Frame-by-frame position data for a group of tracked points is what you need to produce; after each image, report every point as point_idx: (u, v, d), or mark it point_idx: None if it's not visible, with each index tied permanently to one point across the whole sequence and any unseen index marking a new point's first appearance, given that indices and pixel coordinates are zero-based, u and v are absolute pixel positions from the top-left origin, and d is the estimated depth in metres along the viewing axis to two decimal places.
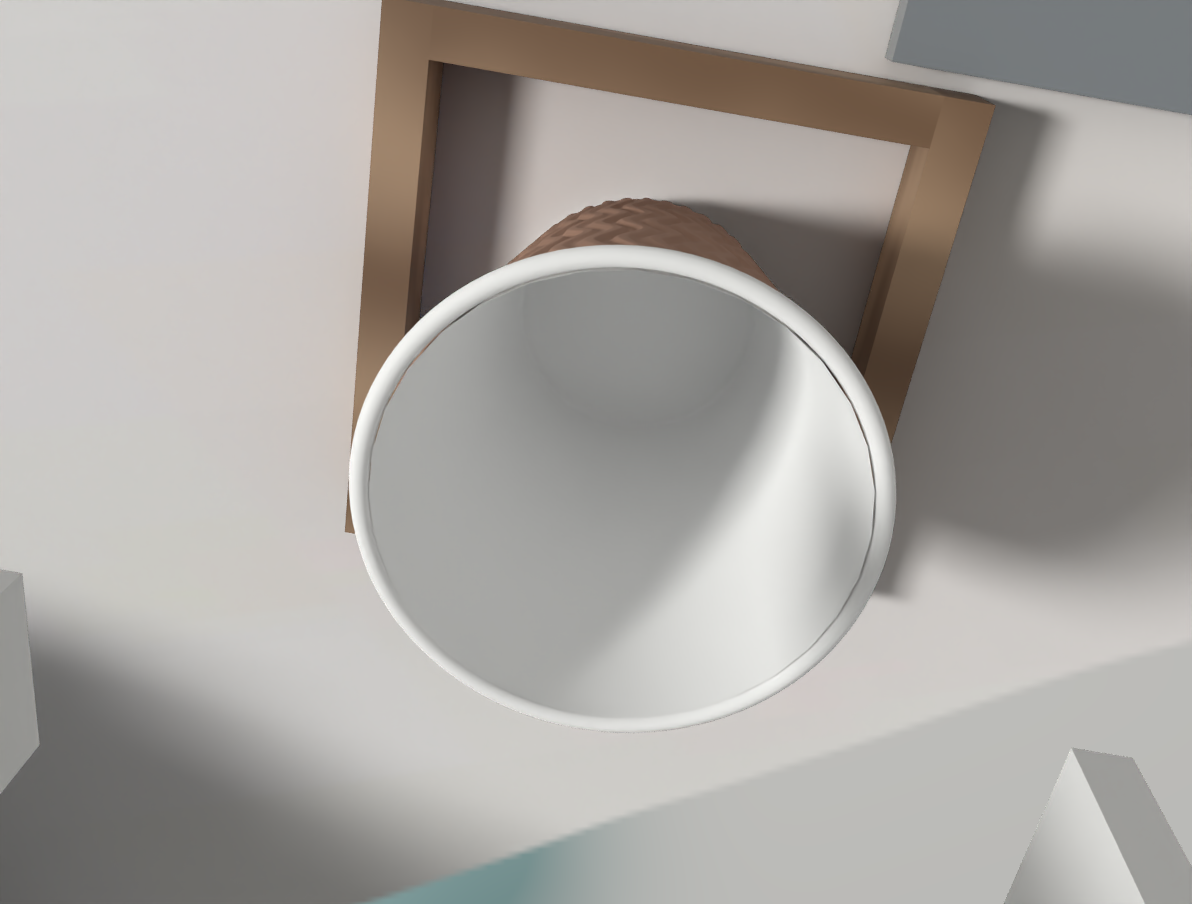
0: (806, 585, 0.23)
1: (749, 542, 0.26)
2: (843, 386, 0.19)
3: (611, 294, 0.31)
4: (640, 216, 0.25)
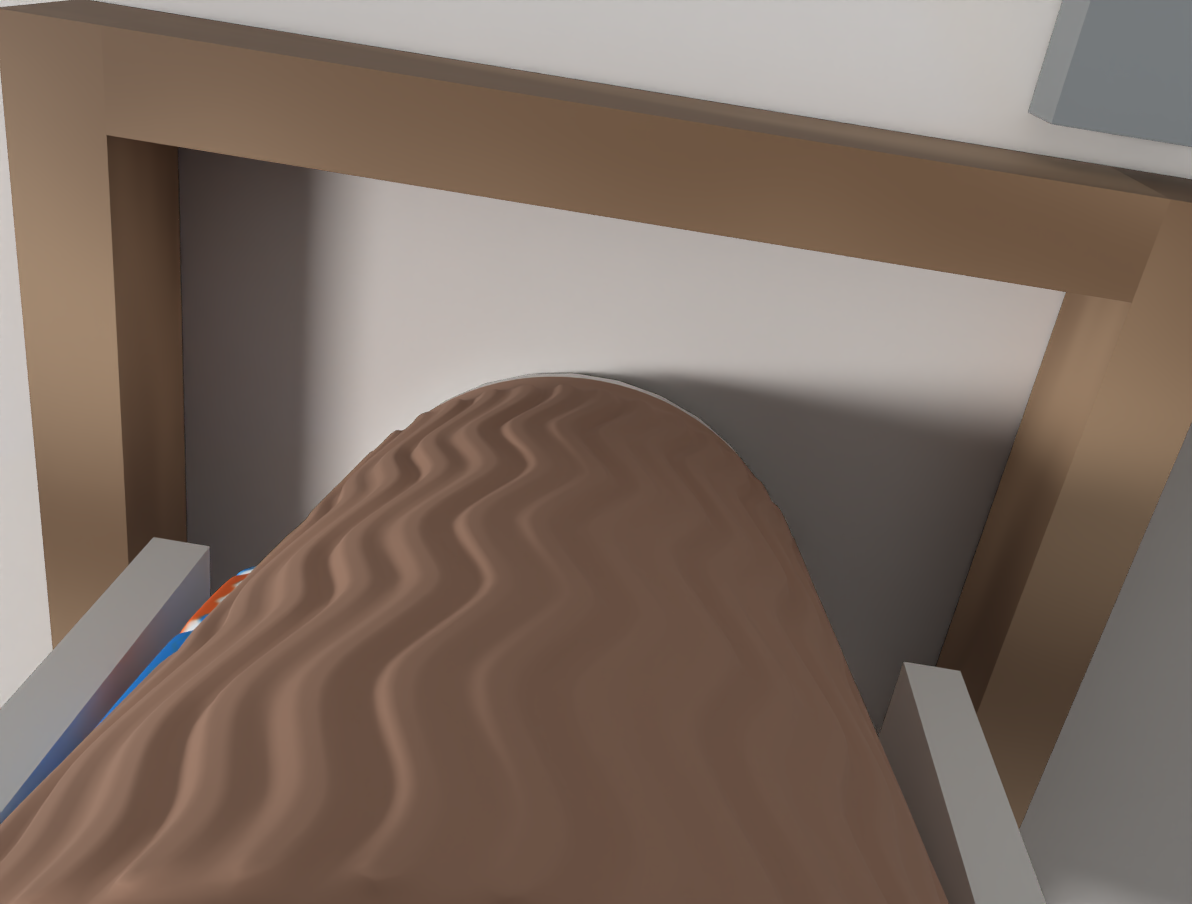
0: None
1: None
2: None
3: None
4: (517, 493, 0.11)
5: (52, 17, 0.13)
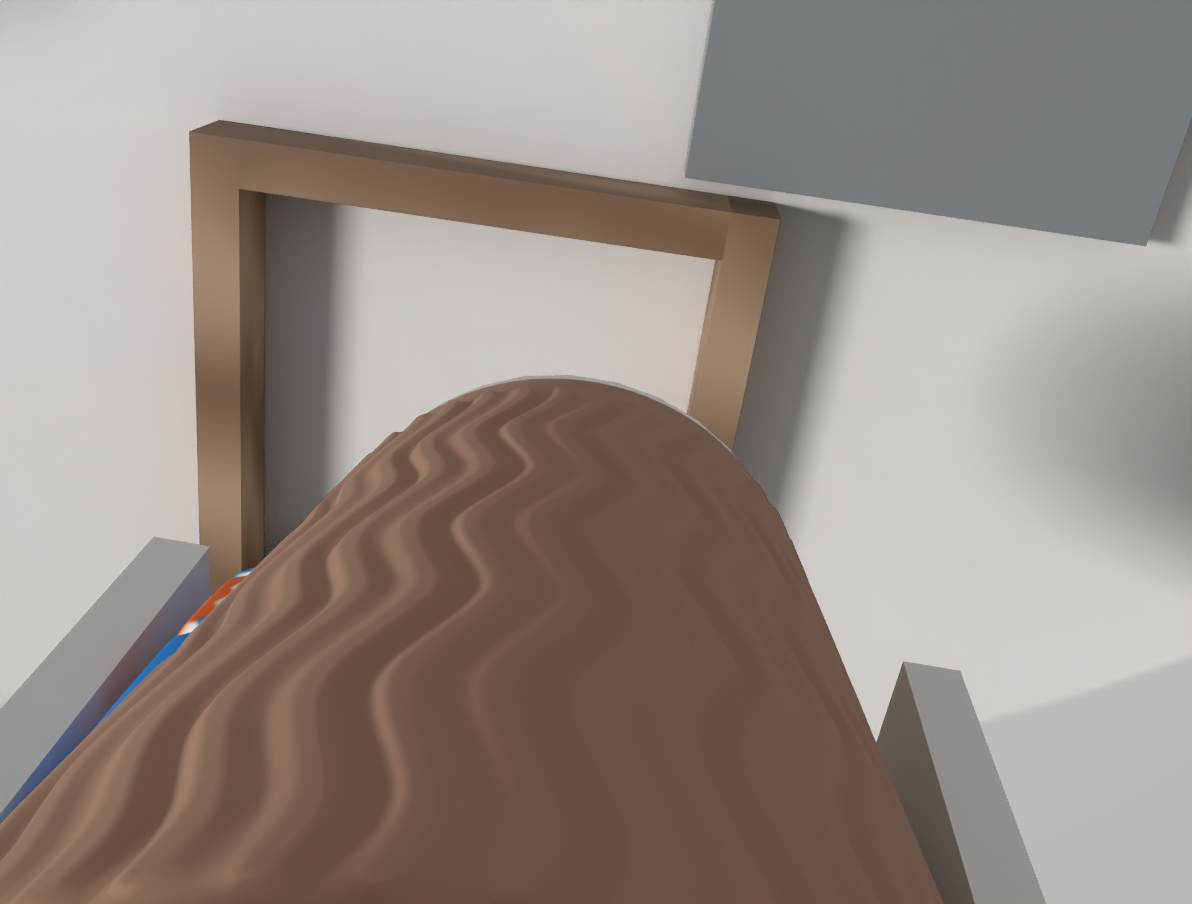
0: None
1: None
2: None
3: None
4: (514, 496, 0.11)
5: (215, 135, 0.27)
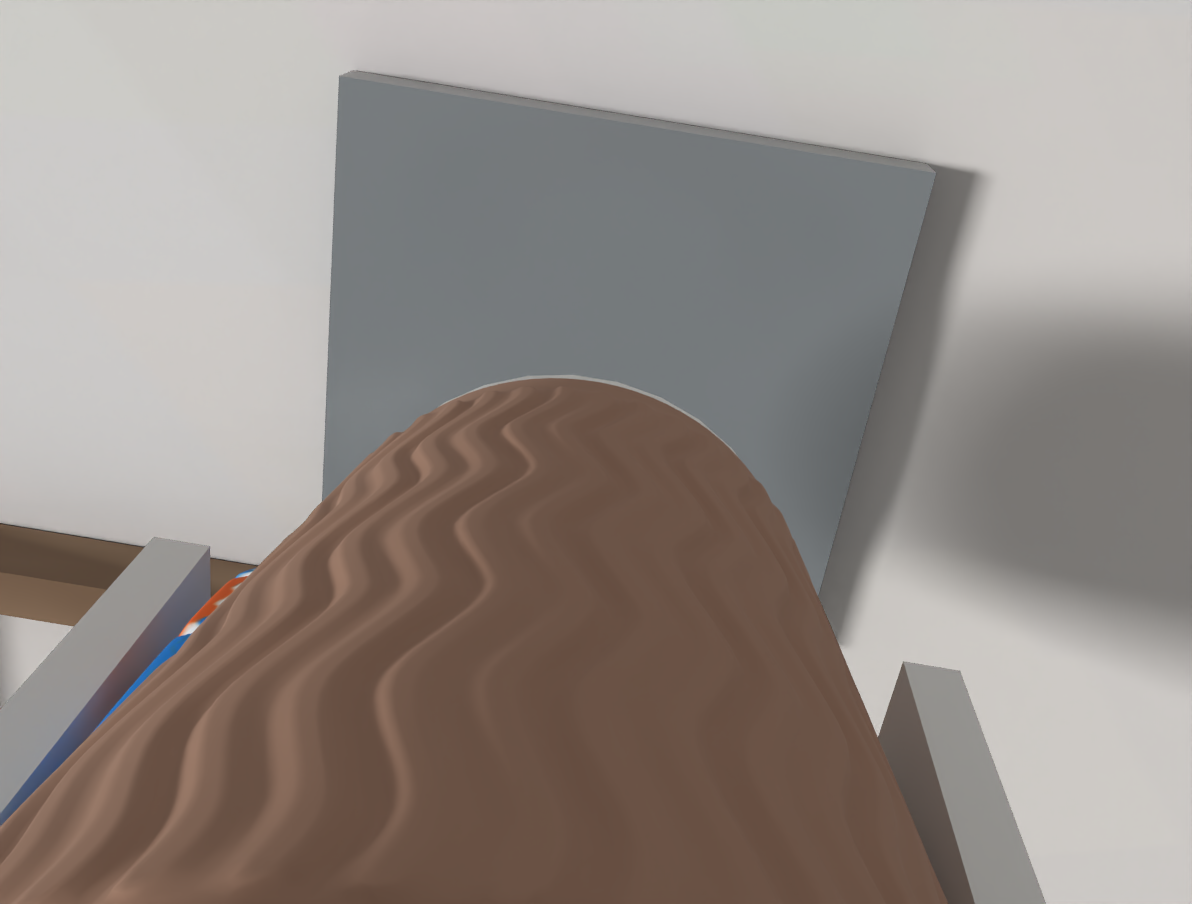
0: None
1: None
2: None
3: None
4: (517, 496, 0.11)
5: None
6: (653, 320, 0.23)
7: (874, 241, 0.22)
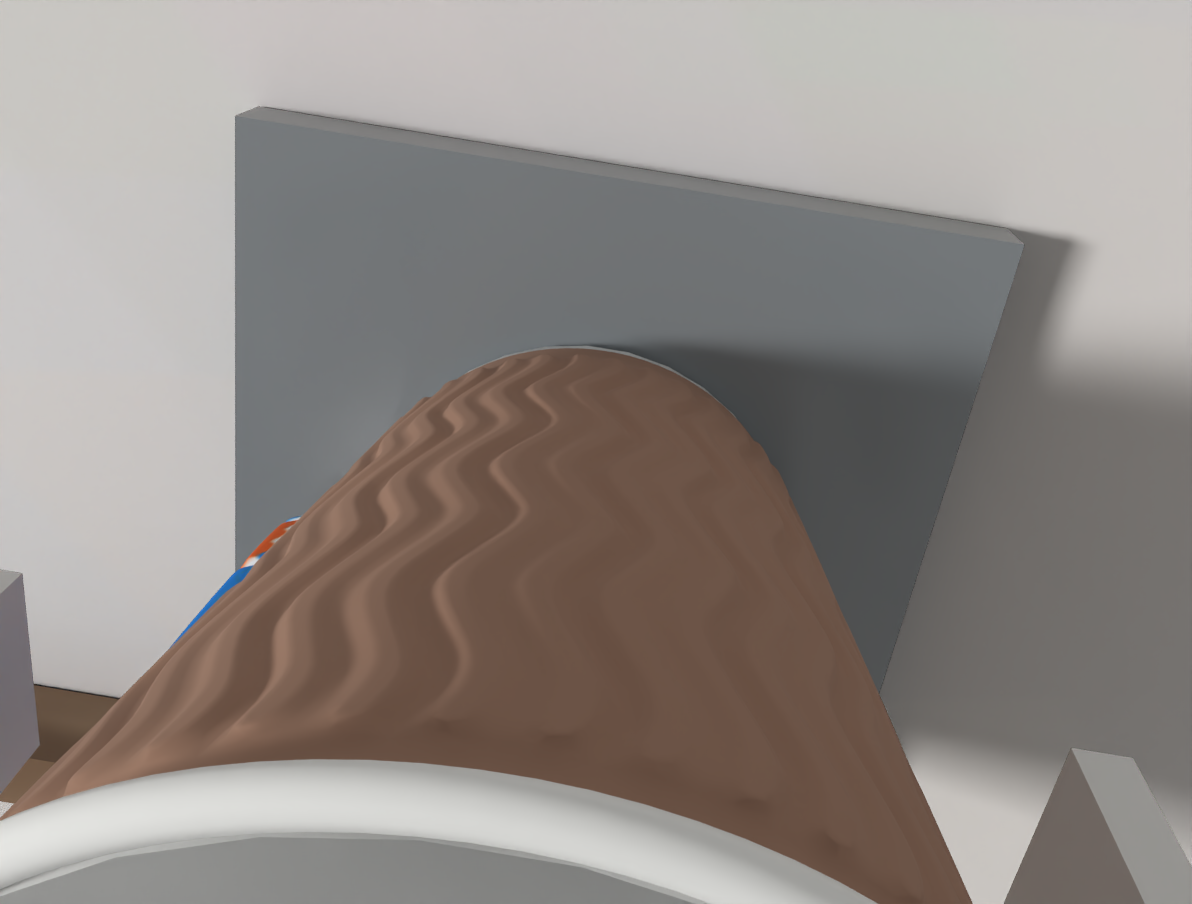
0: None
1: None
2: None
3: None
4: (542, 443, 0.12)
5: None
6: None
7: (939, 332, 0.17)
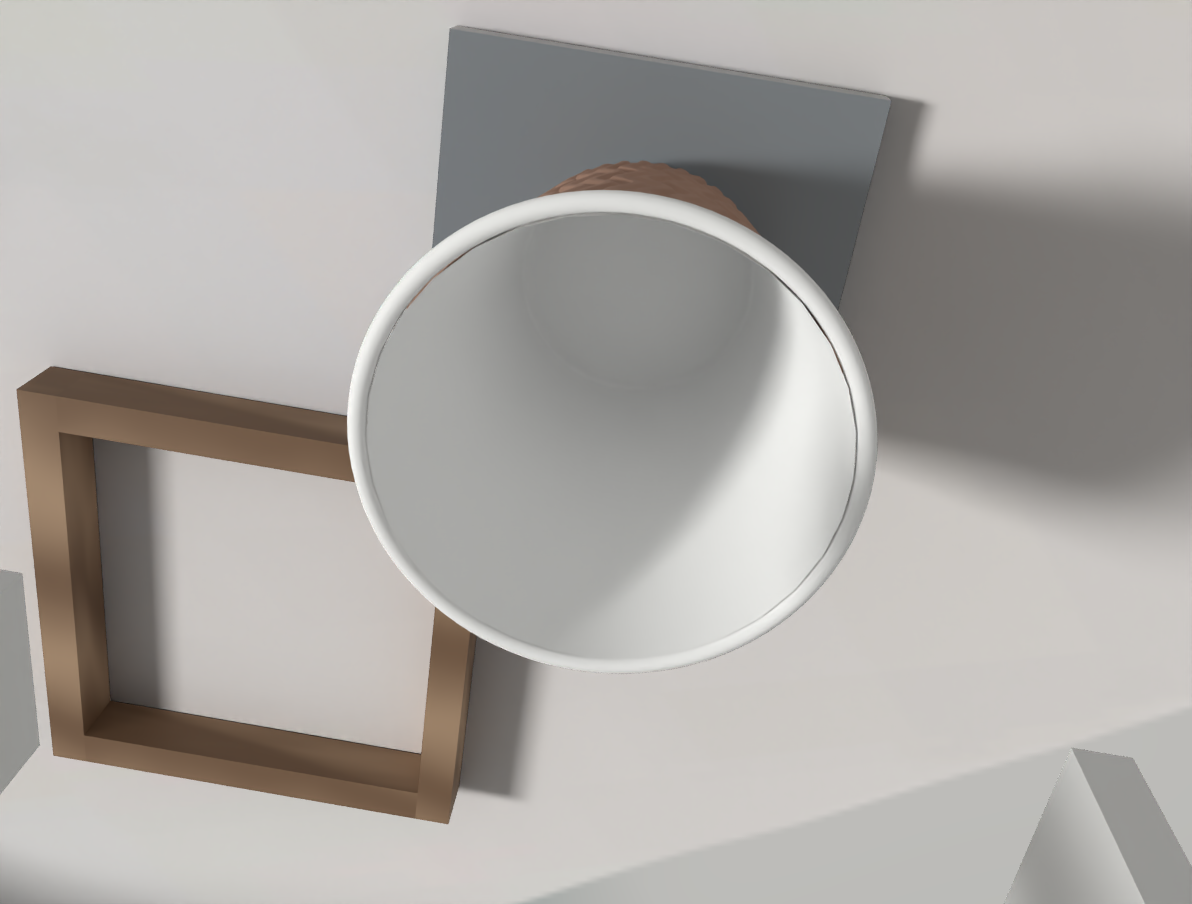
0: (794, 530, 0.23)
1: (742, 493, 0.26)
2: (823, 328, 0.20)
3: (610, 258, 0.31)
4: (633, 174, 0.25)
5: (37, 392, 0.34)
6: None
7: (845, 153, 0.30)
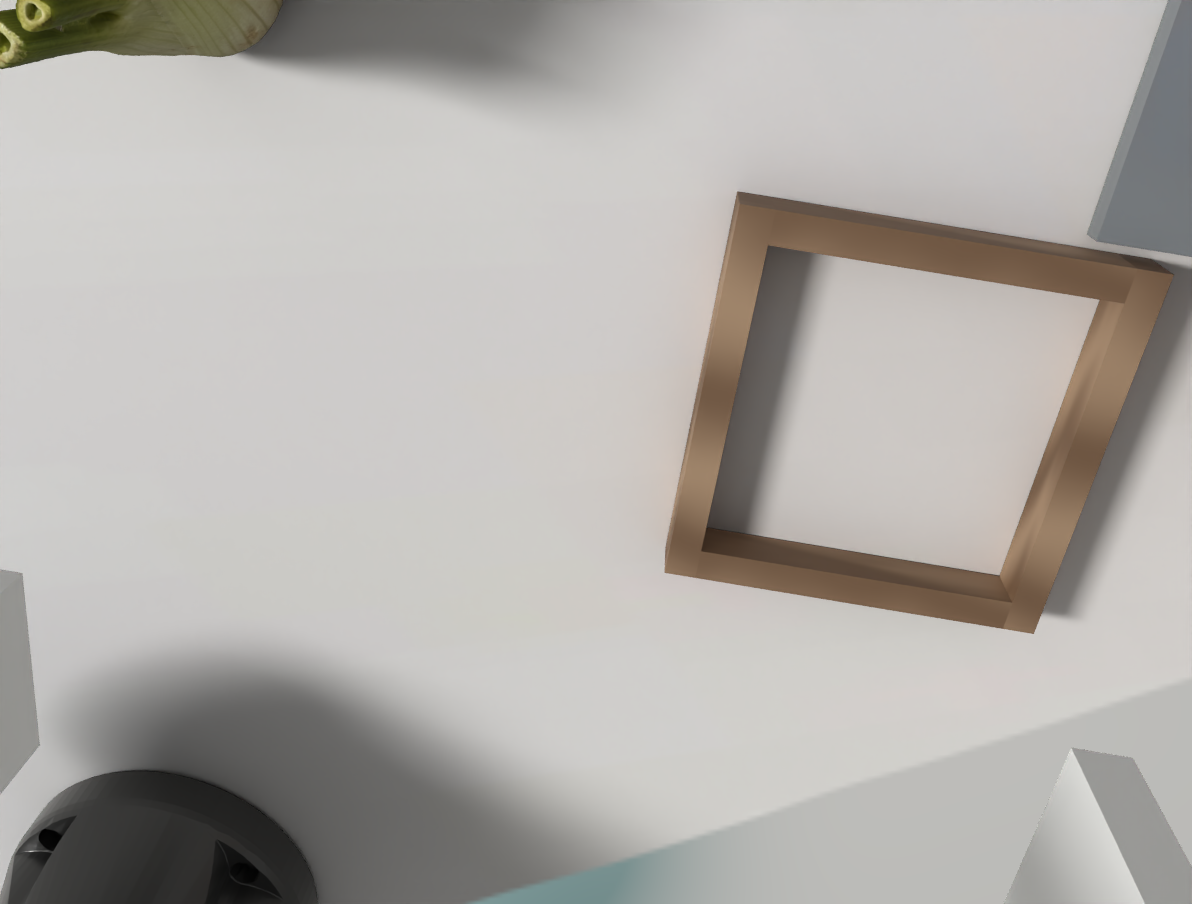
0: None
1: None
2: None
3: None
4: None
5: (758, 206, 0.37)
6: None
7: None
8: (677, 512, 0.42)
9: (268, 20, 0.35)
